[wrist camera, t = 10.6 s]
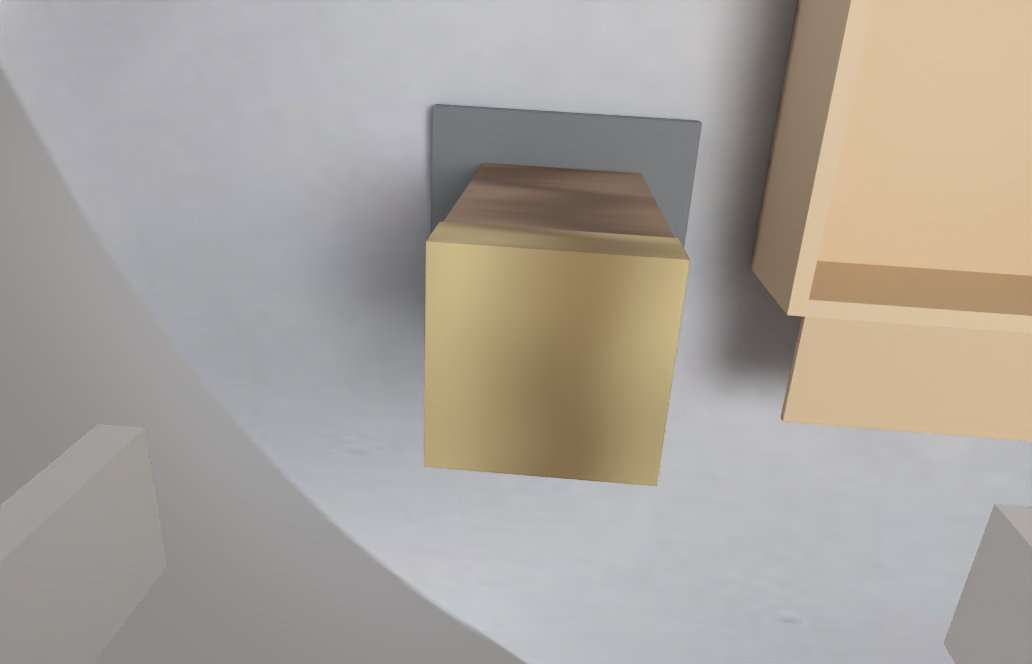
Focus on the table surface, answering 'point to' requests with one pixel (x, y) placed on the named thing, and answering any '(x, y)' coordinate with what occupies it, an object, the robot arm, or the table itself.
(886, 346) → the carton
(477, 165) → the panel
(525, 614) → the table surface
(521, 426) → the block
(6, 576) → the robot arm
